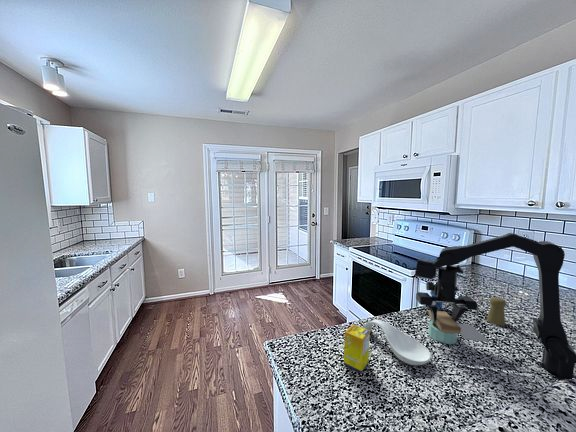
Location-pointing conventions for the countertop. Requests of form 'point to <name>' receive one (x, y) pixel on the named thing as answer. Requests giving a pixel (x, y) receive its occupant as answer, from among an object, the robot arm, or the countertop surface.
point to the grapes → (437, 302)
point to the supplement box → (356, 348)
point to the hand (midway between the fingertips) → (443, 322)
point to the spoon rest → (402, 344)
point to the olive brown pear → (497, 311)
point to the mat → (471, 333)
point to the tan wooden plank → (446, 323)
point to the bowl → (441, 334)
